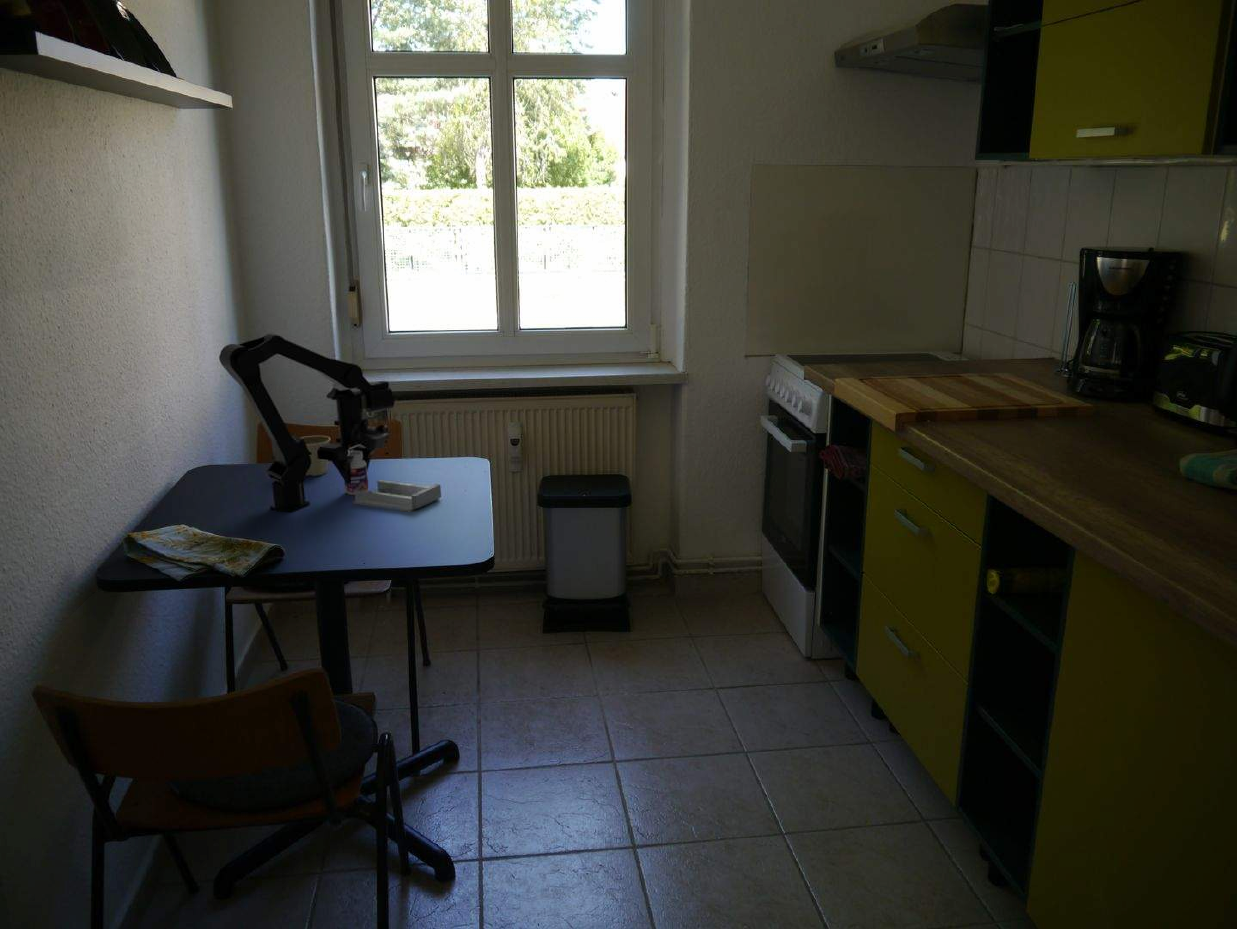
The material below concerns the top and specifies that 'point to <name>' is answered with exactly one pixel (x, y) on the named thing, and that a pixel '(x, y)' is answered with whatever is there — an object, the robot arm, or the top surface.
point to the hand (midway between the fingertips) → (356, 479)
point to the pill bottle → (357, 474)
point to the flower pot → (312, 445)
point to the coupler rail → (398, 495)
